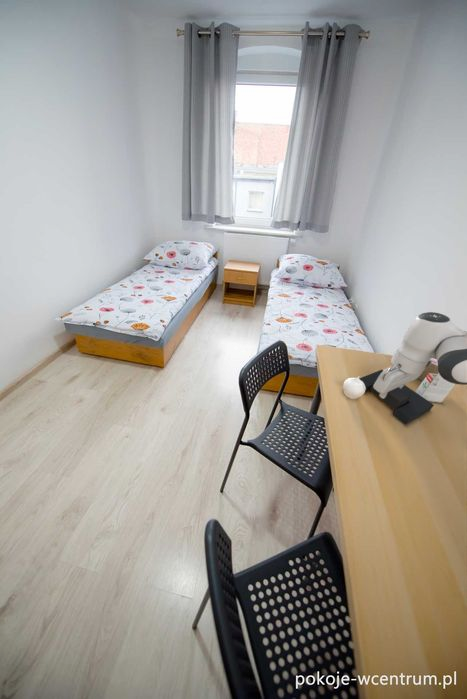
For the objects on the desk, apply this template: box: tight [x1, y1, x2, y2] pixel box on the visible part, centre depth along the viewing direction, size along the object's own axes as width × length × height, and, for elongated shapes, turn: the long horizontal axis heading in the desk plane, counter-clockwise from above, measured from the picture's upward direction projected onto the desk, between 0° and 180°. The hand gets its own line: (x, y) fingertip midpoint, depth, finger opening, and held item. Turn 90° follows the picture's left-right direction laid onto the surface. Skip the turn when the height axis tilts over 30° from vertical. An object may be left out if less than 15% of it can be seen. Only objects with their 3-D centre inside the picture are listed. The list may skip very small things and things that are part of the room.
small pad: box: [368, 381, 411, 411], centre depth 93 cm, size 10×6×4 cm, turn 31°
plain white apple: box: [342, 375, 366, 400], centre depth 93 cm, size 7×7×8 cm
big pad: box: [359, 369, 435, 426], centre depth 96 cm, size 20×14×3 cm
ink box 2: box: [415, 372, 456, 404], centre depth 94 cm, size 4×8×15 cm, turn 85°
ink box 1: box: [417, 358, 439, 382], centre depth 106 cm, size 10×4×8 cm, turn 48°
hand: (389, 393), depth 93 cm, fingers closed on small pad, 6 cm apart
